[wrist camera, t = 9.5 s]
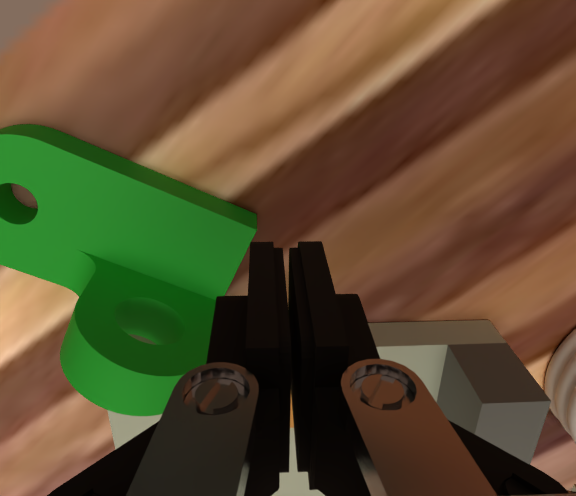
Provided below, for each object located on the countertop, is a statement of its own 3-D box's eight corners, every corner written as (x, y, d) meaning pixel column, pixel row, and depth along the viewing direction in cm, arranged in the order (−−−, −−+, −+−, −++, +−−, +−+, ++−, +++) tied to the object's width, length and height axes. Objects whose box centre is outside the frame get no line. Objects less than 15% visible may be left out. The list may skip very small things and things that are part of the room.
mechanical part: (256, 212, 22) (258, 307, 15) (208, 311, 25) (190, 434, 18) (-14, 98, 19) (-169, 148, 12) (-41, 222, 22) (-186, 326, 15)
